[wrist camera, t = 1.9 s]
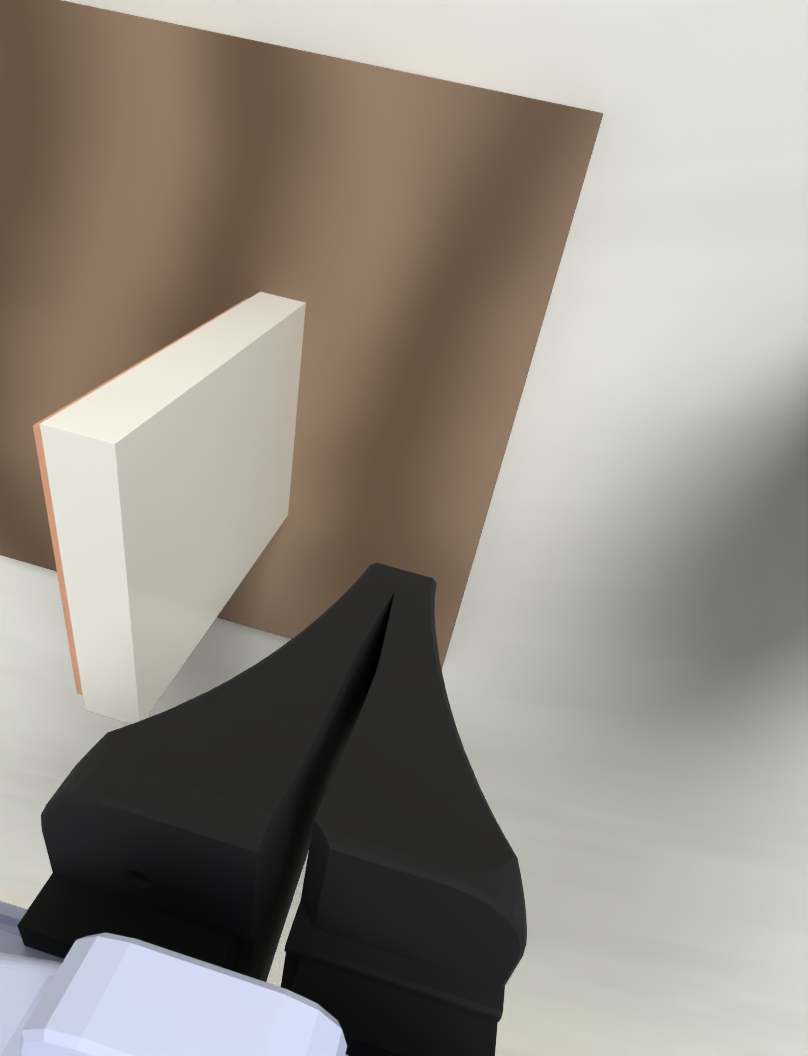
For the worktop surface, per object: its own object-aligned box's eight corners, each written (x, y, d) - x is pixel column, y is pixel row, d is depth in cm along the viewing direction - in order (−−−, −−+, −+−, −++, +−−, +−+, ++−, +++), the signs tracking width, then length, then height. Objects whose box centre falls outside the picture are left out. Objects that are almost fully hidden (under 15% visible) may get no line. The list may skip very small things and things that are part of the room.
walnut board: (601, 113, 15) (602, 113, 14) (442, 662, 25) (438, 680, 24) (-108, -35, 17) (-144, -43, 16) (11, 539, 27) (-6, 553, 26)
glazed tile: (305, 302, 18) (115, 443, 10) (287, 514, 22) (140, 726, 14) (249, 289, 18) (22, 419, 11) (242, 502, 22) (72, 706, 15)
